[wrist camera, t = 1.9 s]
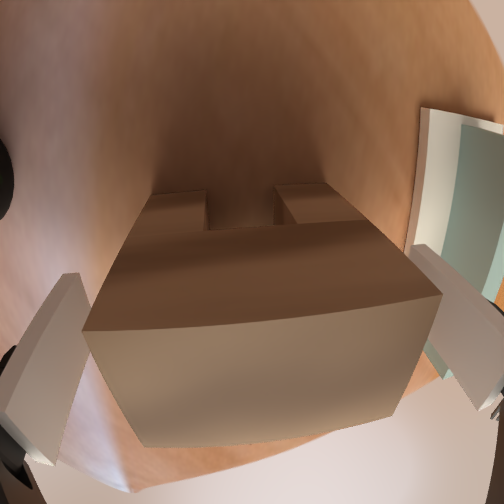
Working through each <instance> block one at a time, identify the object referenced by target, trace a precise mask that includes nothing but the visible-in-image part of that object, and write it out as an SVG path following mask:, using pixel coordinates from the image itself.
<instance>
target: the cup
mask: <svg viewBox="0 0 504 504" xmlns="http://www.w3.org/2000/svg"><path fill="white" fill-rule="evenodd" d="M13 189H14V176H13V169H12V164H11V159H10V157H9V154H8V152H7V149H6V147H5V146H4V144H3V143H2V141H1V139H0V220H1V219H2V218H3V217H4V216H5V214H6V212H7V211H8V209H9V207H10V203H11V200H12V197H13Z"/></svg>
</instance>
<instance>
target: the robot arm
mask: <svg viewBox="0 0 504 504" xmlns="http://www.w3.org/2000/svg"><path fill="white" fill-rule="evenodd" d="M408 258H409V259H410V260H411V261H412V262H413V263H414V264H415V265H416V266H417V267H418V268H419V269H420V270H421V271H422V272H423V273H424V274H425V275H426V276H427V277H428V278H429V280H430V281H431V282H432V283H433V284H434V285H435V286H436V287H437V288H438V289H439V290H440V291H441V292H442V293H443V296H442V299H441V302H440V305H439V308H438V311H437V314H436V317H435V320H434V322H433V325H432V328H431V331H430V333H429V336H428V340H429V341H430V342H431V344H432V345H433V347H434V348H435V349H436V351H437V352H438V353H439V355H440V356H441V358H442V359H443V361H444V362H445V363H446V365H447V366H448V368H449V369H450V371H451V372H452V373H453V375H454V376H455V378H456V379H457V381H458V382H459V384H460V385H461V387H462V388H463V390H464V391H465V393H466V394H467V396H468V397H469V398H470V400H471V402H472V403H473V405H474V406H475V408H476V410H477V411H479V410H481V409H483V408H485V407H487V406H489V405H491V404H492V403H493V402H494V401H495V399H496V397H497V396H498V395H499V393H500V392H501V393H502V395H503V396H504V312H503V311H502V310H501V309H500V308H499V307H498V306H497V305H496V304H494V303H493V302H491V301H489V300H488V299H486V298H485V297H484V296H483V295H482V294H481V293H479V292H478V291H477V290H476V289H475V288H474V287H473V286H472V285H471V284H470V283H469V282H468V281H467V280H466V279H465V278H463V277H462V276H461V275H460V274H459V273H458V272H457V271H456V270H455V269H454V268H452V267H451V266H450V265H449V264H448V263H447V262H446V261H444V260H443V259H442V258H441V257H440V256H439V255H438V254H436V253H435V252H434V251H433V250H432V249H431V248H429V247H428V246H427V245H426V244H417V245H411V246H410V252H409V257H408ZM90 311H91V307H90V304H89V301H88V298H87V295H86V292H85V289H84V286H83V283H82V280H81V277H80V274H79V273H68V274H63V275H62V276H61V277H60V279H59V280H58V282H57V283H56V285H55V286H54V288H53V289H52V290H51V292H50V293H49V295H48V296H47V298H46V300H45V301H44V303H43V304H42V306H41V307H40V309H39V310H38V312H37V313H36V315H35V317H34V318H33V320H32V321H31V323H30V325H29V326H28V328H27V330H26V331H25V333H24V335H23V336H22V338H21V340H20V342H19V343H18V345H17V346H16V345H14V346H13V347H12V348H11V349H10V350H9V351H8V352H7V353H6V354H5V355H4V356H3V358H2V359H1V361H0V504H47V503H46V502H45V500H44V498H43V496H42V494H41V492H40V490H39V487H38V485H37V483H36V481H35V479H34V477H33V474H32V472H31V470H30V468H29V466H28V464H27V463H26V461H25V460H24V457H25V454H26V453H27V454H28V455H29V456H30V457H31V458H33V460H35V461H36V462H39V463H43V464H48V465H52V466H55V464H56V460H57V456H58V452H59V448H60V445H61V441H62V437H63V434H64V430H65V426H66V423H67V420H68V416H69V413H70V409H71V406H72V403H73V400H74V397H75V394H76V391H77V387H78V384H79V381H80V379H81V376H82V373H83V370H84V367H85V364H86V361H87V359H88V356H89V353H90V349H89V347H88V345H87V343H86V341H85V338H84V336H83V334H82V332H81V331H82V329H83V326H84V324H85V322H86V320H87V317H88V315H89V313H90ZM498 412H500V415H499V416H498V417H497V419H496V420H497V421H499V426H498V436H497V444H496V452H495V459H494V465H493V471H492V476H491V481H490V486H489V491H488V495H487V499H486V503H485V504H504V398H503V400H502V401H501V402H500V404H499V405H498V406H497V408H496V409H495V410H494V412H493V413H492V414H491V418H490V419H493V418H494V417H495V416H496V414H497V413H498Z"/></svg>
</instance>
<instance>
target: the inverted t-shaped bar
mask: <svg viewBox="0 0 504 504" xmlns="http://www.w3.org/2000/svg"><path fill="white" fill-rule="evenodd" d="M417 244H426V245H427V246H428V247H429V248H431V249H432V250H433V251H434V252H435V253H436V254H438V255H439V256H440V257H441V258H442V259H443V260H444V261H446V262H447V263H448V264H449V265H450V266H451V267H452V268H454V269H455V270H456V271H457V272H458V273H459V274H460V275H461V276H462V277H463V278H465V279H466V280H467V281H468V282H469V283H470V284H471V285H472V286H473V287H474V288H475V289H476V290H477V291H478V292H479V293H481V294H482V295H483V296H484V297H485V298H486V299H488V300H489V301H491V302H493V303H494V300H495V298H496V295H497V293H498V290H499V288H500V285H501V282H502V279H503V277H504V135H503V125H501V124H498V123H494V122H490V121H486V120H482V119H478V118H474V117H470V116H465V115H461V114H456V113H451V112H446V111H441V110H435V109H429V108H424V107H421V114H420V133H419V146H418V158H417V168H416V177H415V186H414V193H413V201H412V208H411V214H410V220H409V226H408V232H407V238H406V243H405V248H404V254H405V255H406V256H407V257H409V252H410V246H411V245H417ZM423 351H424V352H425V354H426V355H427V357H428V358H429V360H430V361H431V363H432V364H433V366H434V367H435V369H436V370H437V372H438V373H439V375H440V377H441V378H442V379H446V378H449V377H452V376H454V375H453V373H452V372H451V371H450V369H449V368H448V366H447V365H446V363H445V362H444V361H443V359H442V358H441V356H440V355H439V353H438V352H437V351H436V349H435V348H434V347H433V345H432V344H431V342H430V341H429V340H428V338H427V341H426V343H425V346H424V348H423Z"/></svg>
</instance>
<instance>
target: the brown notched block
mask: <svg viewBox="0 0 504 504" xmlns="http://www.w3.org/2000/svg"><path fill="white" fill-rule="evenodd" d="M442 296H443V293H442V292H441V291H440V290H439V289H438V288H437V287H436V286H435V285H434V284H433V283H432V282H431V281H430V280H429V278H428V277H427V276H426V275H425V274H424V273H423V272H422V271H421V270H420V269H419V268H418V267H417V266H416V265H415V264H414V263H413V262H412V261H411V260H410V259H409V258H408V257H407V256H406V255H405V254H404V253H403V252H402V251H401V250H400V249H399V248H398V247H397V246H396V245H395V244H394V243H393V242H392V241H390V240H389V239H388V238H387V237H386V236H385V235H384V234H383V233H382V232H381V231H380V230H379V229H378V228H377V227H376V226H375V225H373V224H372V223H371V222H370V221H369V220H368V219H367V218H366V217H365V216H364V215H363V214H361V213H360V212H359V211H358V210H357V209H356V208H355V207H354V206H352V205H351V204H350V203H349V202H348V201H347V200H346V199H345V198H343V197H342V196H341V195H340V194H339V193H338V192H336V191H335V190H334V189H333V188H332V187H331V186H329V185H328V184H327V183H312V184H288V185H274V225H273V226H259V227H246V228H233V229H220V230H210V228H209V218H208V207H207V195H206V190H198V191H187V192H177V193H167V194H158V195H151V196H150V198H149V199H148V201H147V203H146V204H145V206H144V208H143V210H142V211H141V213H140V215H139V217H138V218H137V220H136V222H135V224H134V226H133V227H132V229H131V231H130V233H129V235H128V236H127V238H126V240H125V242H124V244H123V246H122V248H121V249H120V251H119V253H118V255H117V257H116V259H115V261H114V263H113V265H112V267H111V269H110V271H109V273H108V275H107V277H106V279H105V281H104V283H103V285H102V287H101V289H100V291H99V293H98V296H97V298H96V300H95V302H94V304H93V306H92V308H91V311H90V313H89V315H88V317H87V320H86V322H85V324H84V326H83V329H82V331H81V332H82V334H83V336H84V338H85V341H86V343H87V345H88V347H89V349H90V351H91V354H92V356H93V358H94V360H95V362H96V364H97V366H98V368H99V370H100V372H101V374H102V376H103V378H104V380H105V382H106V384H107V386H108V387H109V389H110V391H111V393H112V395H113V397H114V398H115V400H116V402H117V404H118V406H119V407H120V409H121V411H122V413H123V414H124V416H125V418H126V419H127V421H128V423H129V424H130V426H131V428H132V429H133V431H134V432H135V434H136V436H137V437H138V439H139V440H140V442H141V443H142V445H143V446H144V447H148V448H198V447H219V446H233V445H245V444H255V443H263V442H271V441H279V440H286V439H292V438H298V437H304V436H310V435H315V434H321V433H326V432H330V431H335V430H340V429H344V428H348V427H353V426H356V425H361V424H364V423H368V422H372V421H375V420H379V419H383V418H386V417H390V416H392V415H393V413H394V411H395V409H396V407H397V405H398V403H399V401H400V399H401V397H402V395H403V393H404V391H405V389H406V387H407V385H408V383H409V381H410V378H411V376H412V374H413V372H414V369H415V367H416V365H417V363H418V360H419V358H420V356H421V353H422V351H423V348H424V346H425V343H426V341H427V338H428V336H429V333H430V331H431V328H432V325H433V322H434V320H435V317H436V314H437V311H438V308H439V305H440V302H441V299H442Z"/></svg>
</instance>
